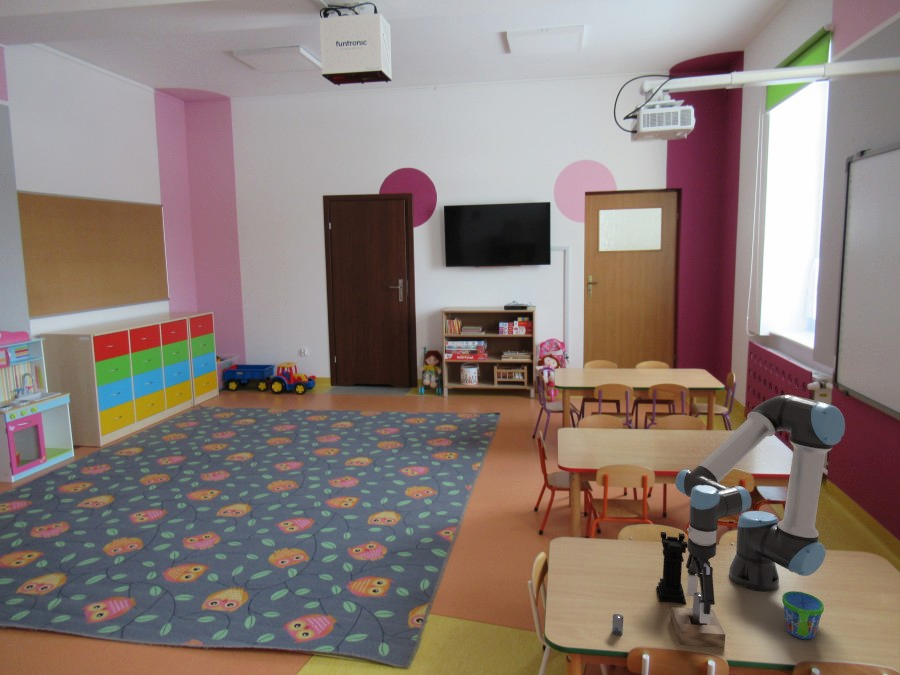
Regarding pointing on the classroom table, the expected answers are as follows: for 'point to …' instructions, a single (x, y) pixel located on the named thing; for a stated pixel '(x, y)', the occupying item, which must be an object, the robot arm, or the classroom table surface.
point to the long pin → (696, 609)
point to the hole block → (697, 629)
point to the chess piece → (672, 569)
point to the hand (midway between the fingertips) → (698, 608)
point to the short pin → (617, 624)
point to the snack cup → (802, 614)
